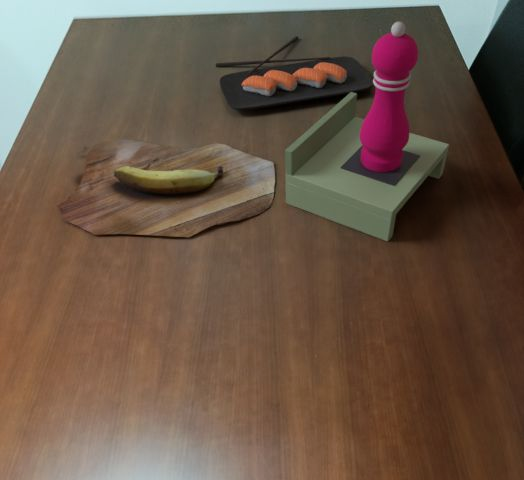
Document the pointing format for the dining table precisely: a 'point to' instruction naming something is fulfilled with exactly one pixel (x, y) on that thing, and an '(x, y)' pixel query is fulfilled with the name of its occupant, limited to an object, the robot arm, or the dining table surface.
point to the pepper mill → (388, 101)
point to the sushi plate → (292, 81)
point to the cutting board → (167, 189)
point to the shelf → (355, 173)
